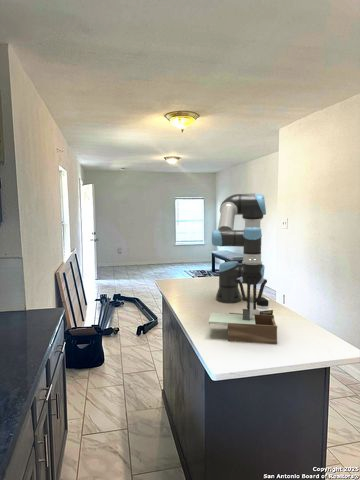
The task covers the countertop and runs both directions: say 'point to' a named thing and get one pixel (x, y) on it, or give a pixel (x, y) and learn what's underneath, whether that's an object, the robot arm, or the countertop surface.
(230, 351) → the countertop surface
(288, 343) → the countertop surface
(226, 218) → the robot arm
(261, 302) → the medicine bottle
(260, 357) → the countertop surface
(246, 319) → the lid
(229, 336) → the box
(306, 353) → the countertop surface
